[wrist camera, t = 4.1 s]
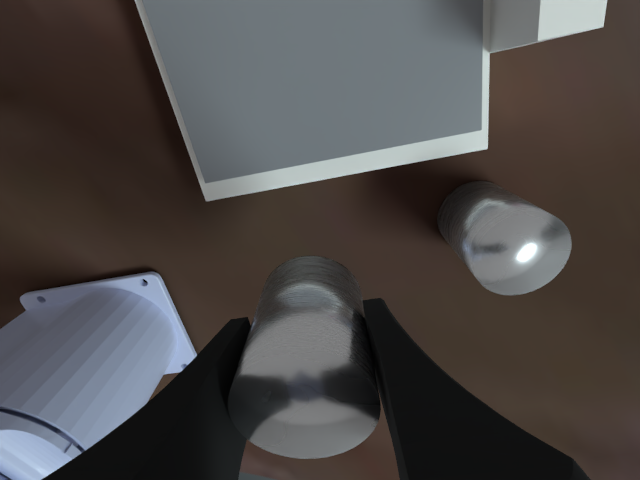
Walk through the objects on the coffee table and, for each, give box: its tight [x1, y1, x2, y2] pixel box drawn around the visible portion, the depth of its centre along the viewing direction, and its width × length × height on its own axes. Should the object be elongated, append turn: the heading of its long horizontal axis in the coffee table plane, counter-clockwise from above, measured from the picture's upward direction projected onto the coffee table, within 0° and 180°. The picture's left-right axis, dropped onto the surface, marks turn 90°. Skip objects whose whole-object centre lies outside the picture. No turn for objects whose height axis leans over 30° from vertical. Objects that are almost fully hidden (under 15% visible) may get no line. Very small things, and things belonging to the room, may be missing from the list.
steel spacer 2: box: [437, 181, 571, 295], centre depth 16 cm, size 4×4×5 cm
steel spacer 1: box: [228, 256, 381, 459], centre depth 11 cm, size 4×4×5 cm
